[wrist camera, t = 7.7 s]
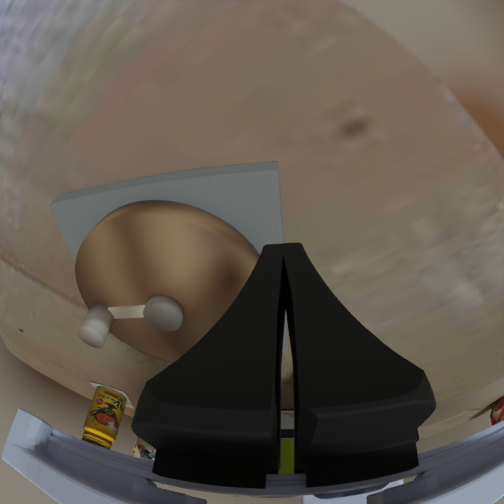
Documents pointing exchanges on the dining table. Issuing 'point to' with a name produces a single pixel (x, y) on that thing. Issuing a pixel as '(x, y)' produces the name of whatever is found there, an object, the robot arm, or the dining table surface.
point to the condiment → (105, 415)
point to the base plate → (188, 192)
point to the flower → (497, 412)
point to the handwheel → (160, 276)
